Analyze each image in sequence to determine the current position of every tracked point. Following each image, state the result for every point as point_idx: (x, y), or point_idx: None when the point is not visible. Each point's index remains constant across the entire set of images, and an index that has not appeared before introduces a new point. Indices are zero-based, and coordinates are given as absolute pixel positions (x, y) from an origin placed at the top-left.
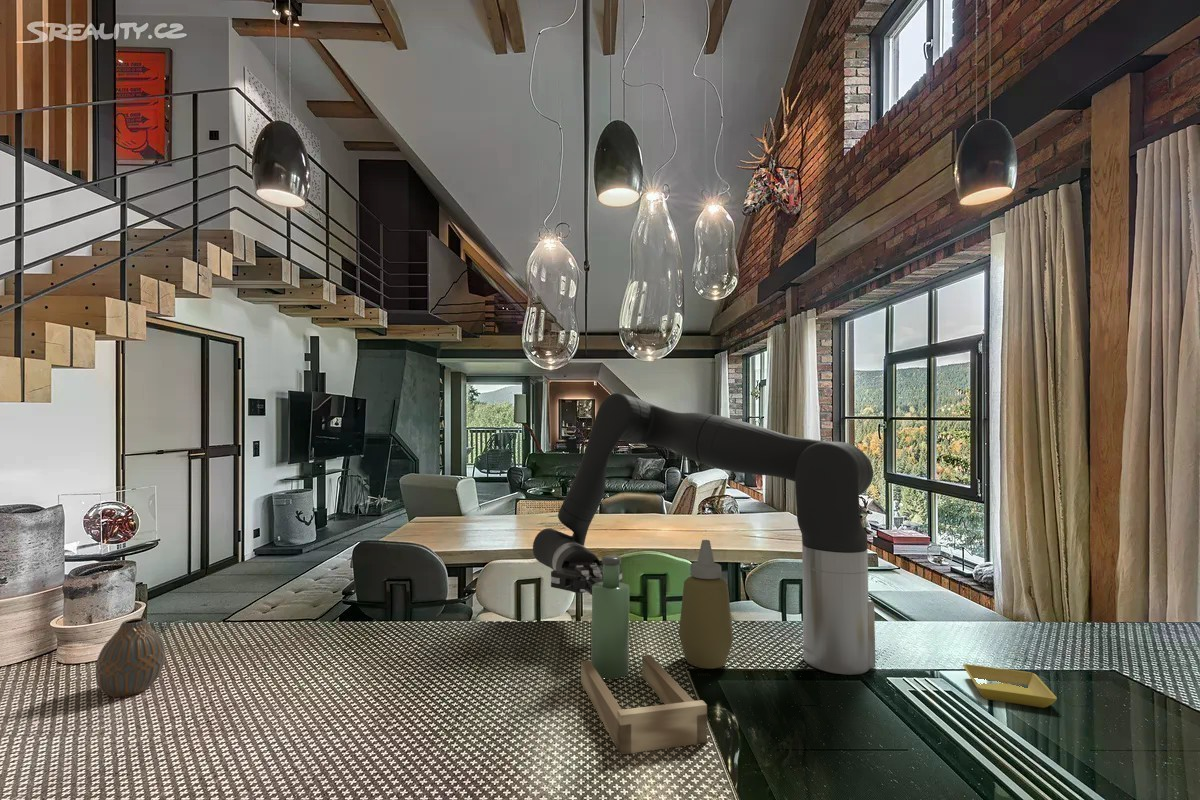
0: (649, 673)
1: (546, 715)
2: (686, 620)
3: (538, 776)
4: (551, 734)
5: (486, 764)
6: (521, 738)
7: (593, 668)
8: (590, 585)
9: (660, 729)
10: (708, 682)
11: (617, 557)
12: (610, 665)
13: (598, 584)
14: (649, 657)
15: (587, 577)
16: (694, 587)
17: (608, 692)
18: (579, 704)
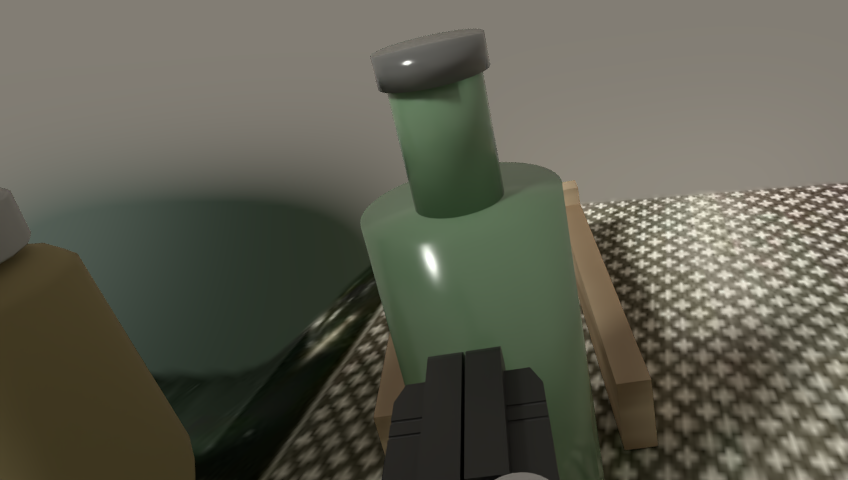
0: None
1: (753, 316)
2: (152, 398)
3: (728, 206)
4: (724, 270)
5: (840, 213)
6: (794, 259)
7: (607, 339)
8: (542, 381)
9: None
10: (244, 441)
11: (392, 49)
12: None
13: (518, 208)
14: (387, 401)
15: (539, 478)
16: (78, 261)
17: (580, 256)
18: (661, 353)
